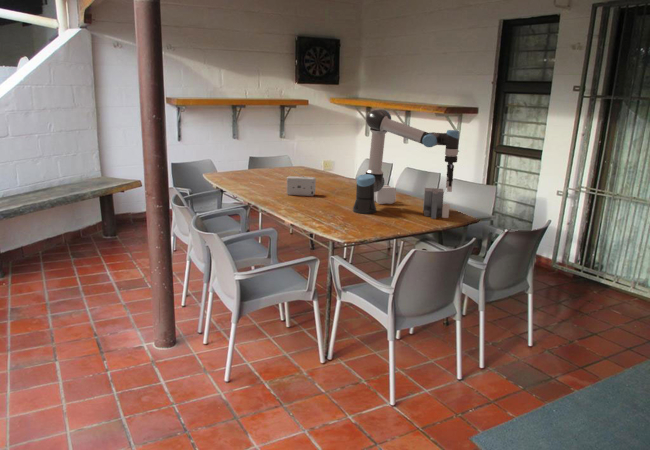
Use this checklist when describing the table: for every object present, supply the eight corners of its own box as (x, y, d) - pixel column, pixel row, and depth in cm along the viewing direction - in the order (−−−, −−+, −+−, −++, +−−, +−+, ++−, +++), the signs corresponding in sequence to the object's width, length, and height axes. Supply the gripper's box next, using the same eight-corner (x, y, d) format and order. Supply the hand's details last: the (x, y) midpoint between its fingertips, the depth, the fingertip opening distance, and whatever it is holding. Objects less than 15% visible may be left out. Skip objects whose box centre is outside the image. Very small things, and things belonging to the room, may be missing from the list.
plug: (424, 216, 333) (425, 204, 331) (424, 214, 337) (425, 202, 335) (448, 217, 331) (449, 205, 329) (448, 216, 335) (449, 204, 333)
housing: (423, 218, 328) (425, 193, 324) (423, 208, 356) (424, 184, 352) (443, 219, 327) (445, 194, 322) (441, 209, 354) (443, 185, 350)
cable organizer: (375, 204, 363) (376, 188, 360) (369, 201, 372) (370, 185, 369) (395, 203, 367) (396, 187, 364) (389, 200, 377) (390, 184, 374)
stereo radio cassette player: (315, 194, 392) (316, 167, 387) (314, 196, 384) (314, 169, 379) (287, 193, 394) (288, 166, 389) (285, 195, 386) (286, 168, 381)
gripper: (459, 158, 310) (456, 193, 316) (456, 153, 334) (453, 186, 340) (446, 157, 312) (443, 193, 317) (444, 153, 335) (441, 185, 341)
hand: (448, 189), depth 328 cm, fingers open, 13 cm apart
